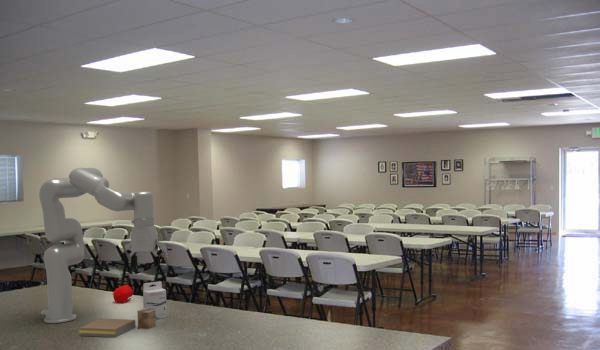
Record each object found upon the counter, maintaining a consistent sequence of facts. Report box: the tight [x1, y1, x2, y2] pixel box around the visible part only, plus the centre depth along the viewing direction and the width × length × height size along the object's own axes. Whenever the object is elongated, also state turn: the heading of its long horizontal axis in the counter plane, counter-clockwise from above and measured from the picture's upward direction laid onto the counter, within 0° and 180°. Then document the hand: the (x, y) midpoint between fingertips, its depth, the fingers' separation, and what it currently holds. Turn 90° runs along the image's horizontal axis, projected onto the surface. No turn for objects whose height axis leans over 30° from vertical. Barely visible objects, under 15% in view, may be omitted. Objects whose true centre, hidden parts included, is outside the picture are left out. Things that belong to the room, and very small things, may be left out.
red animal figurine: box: [112, 284, 134, 304], centre depth 270 cm, size 8×8×8 cm
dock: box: [78, 318, 136, 338], centre depth 216 cm, size 15×14×3 cm
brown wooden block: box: [136, 308, 157, 330], centre depth 221 cm, size 5×5×7 cm
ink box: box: [142, 281, 167, 320], centre depth 236 cm, size 8×5×15 cm, turn 123°
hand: (145, 266), depth 221 cm, fingers open, 9 cm apart
